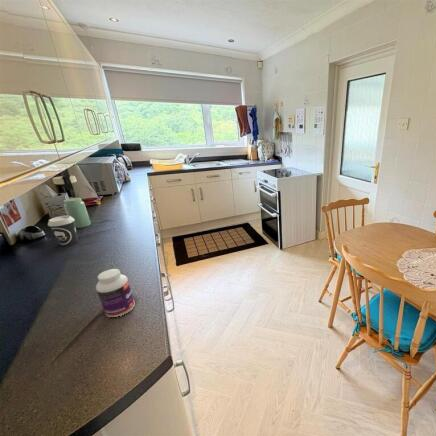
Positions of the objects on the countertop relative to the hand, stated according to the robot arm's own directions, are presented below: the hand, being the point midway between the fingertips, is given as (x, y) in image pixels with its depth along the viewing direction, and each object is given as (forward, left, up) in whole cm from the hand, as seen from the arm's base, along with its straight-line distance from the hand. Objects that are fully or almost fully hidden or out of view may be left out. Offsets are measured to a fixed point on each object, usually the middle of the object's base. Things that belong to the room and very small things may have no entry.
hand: (67, 188), depth 132 cm
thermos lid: (0, 0, +6) cm, 6 cm away
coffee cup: (+15, -26, -24) cm, 39 cm away
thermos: (0, 0, -23) cm, 23 cm away
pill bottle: (+68, -74, -24) cm, 103 cm away
